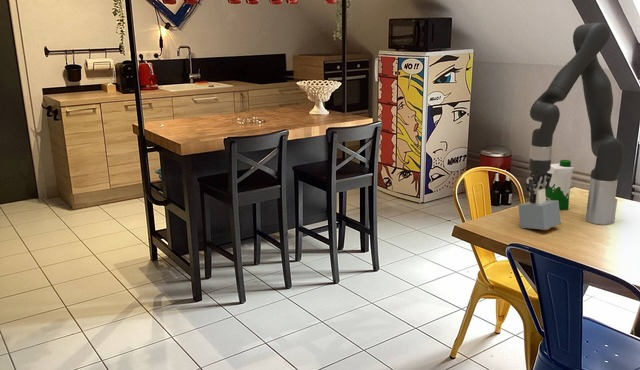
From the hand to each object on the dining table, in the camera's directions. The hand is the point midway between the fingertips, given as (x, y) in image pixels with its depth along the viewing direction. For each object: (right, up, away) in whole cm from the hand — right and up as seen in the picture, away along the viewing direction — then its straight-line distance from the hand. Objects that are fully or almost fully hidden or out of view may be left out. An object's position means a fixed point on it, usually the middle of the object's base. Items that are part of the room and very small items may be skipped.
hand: (536, 201), depth 208 cm
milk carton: (+17, -3, +24) cm, 29 cm away
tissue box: (+2, -9, 0) cm, 9 cm away
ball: (+2, -8, -2) cm, 9 cm away
